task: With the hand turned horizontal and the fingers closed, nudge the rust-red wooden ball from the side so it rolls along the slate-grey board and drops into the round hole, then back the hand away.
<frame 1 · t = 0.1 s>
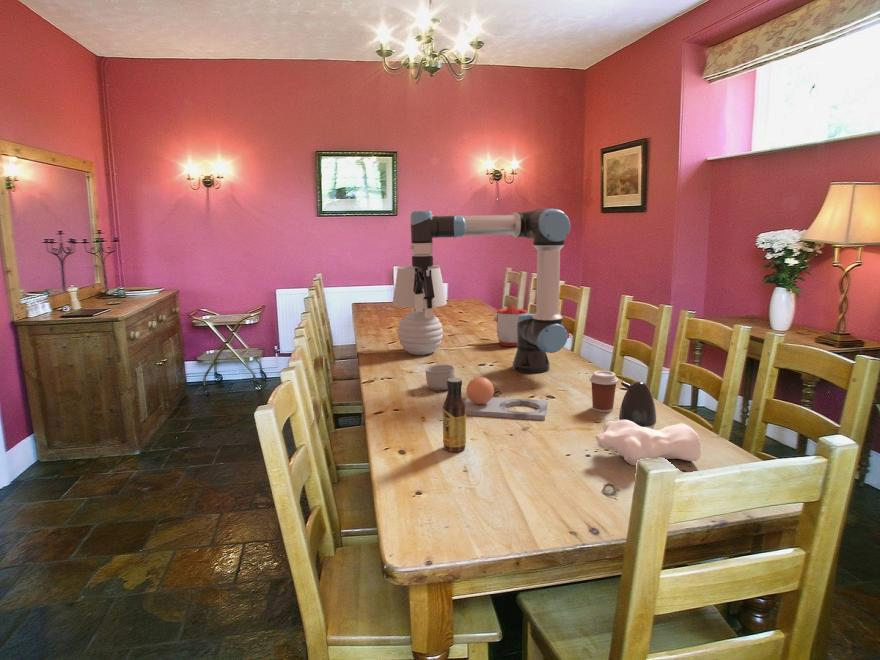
hand: (424, 314, 205), 28 cm above the table, tool pointing down, fingers open, 13 cm apart
torso sculpture: (643, 460, 147), on the table
board: (502, 409, 187), on the table
black egg shaped figurine: (636, 432, 166), on the table
citrus juicer: (510, 345, 282), on the table
sauce bottle: (454, 449, 156), on the table
ball: (480, 390, 188), point 6 cm above the table, touching board
coffee cup: (602, 409, 186), on the table
table lamp: (420, 352, 269), on the table
teacup: (440, 387, 213), on the table
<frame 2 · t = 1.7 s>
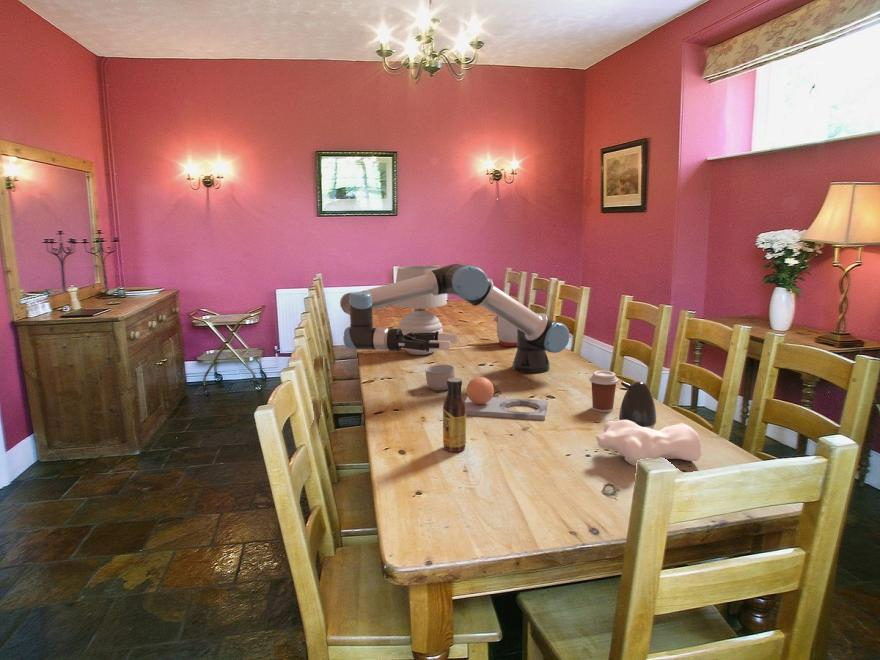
hand: (453, 341, 187), 22 cm above the table, tool horizontal, fingers open, 10 cm apart
nothing on the table moved.
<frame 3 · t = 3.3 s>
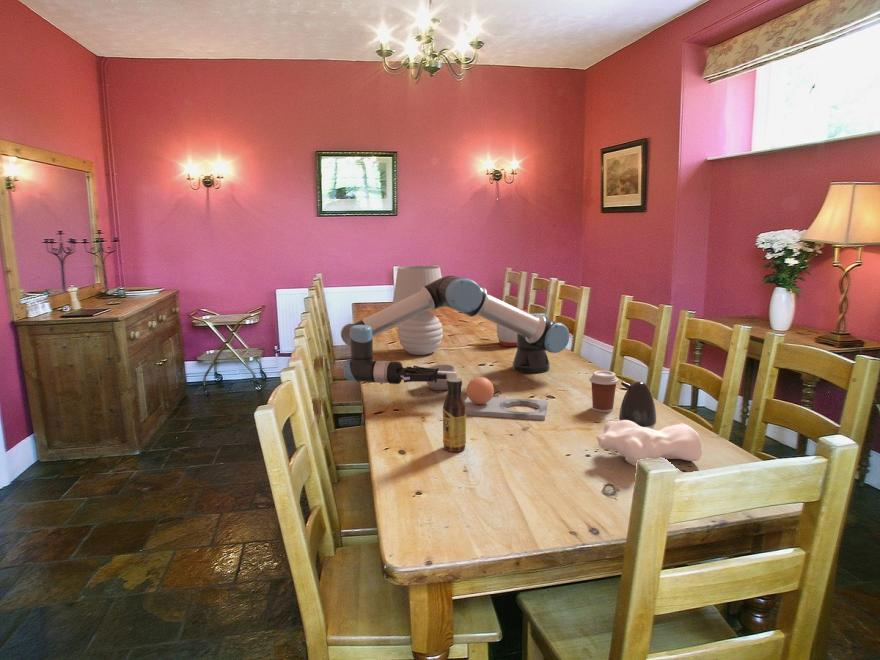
hand: (456, 376, 188), 10 cm above the table, tool horizontal, fingers closed
nothing on the table moved.
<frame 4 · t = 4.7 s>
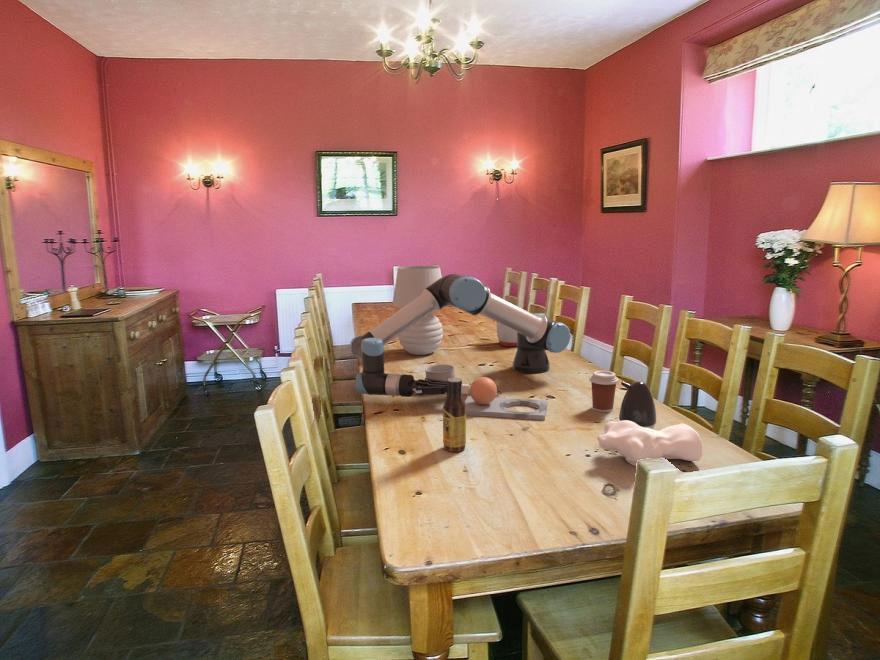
hand: (468, 389, 188), 6 cm above the table, tool horizontal, fingers closed
ball: (483, 390, 187), point 6 cm above the table, tilted 13°, touching board, gripper
everything else where it was.
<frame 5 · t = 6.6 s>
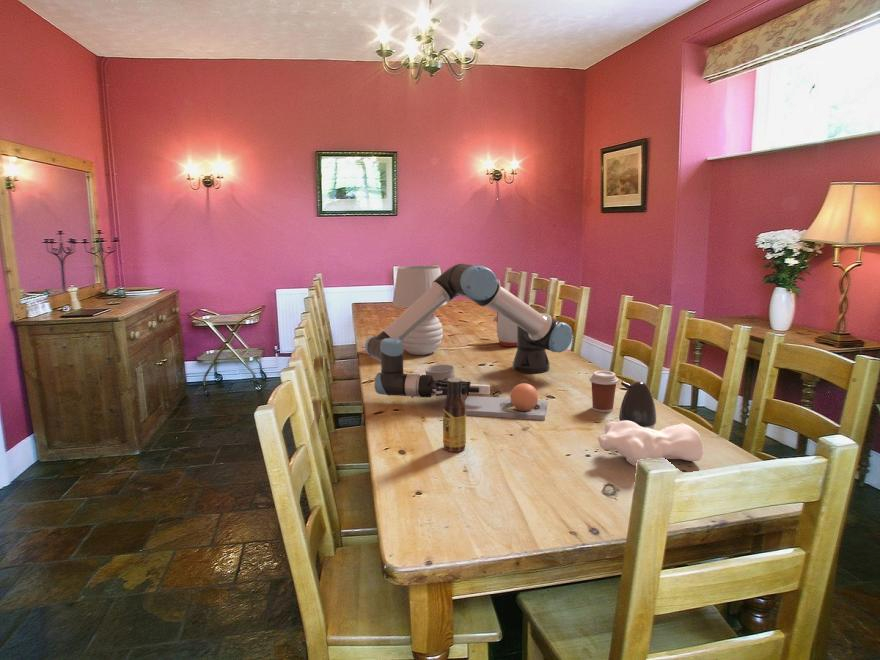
hand: (489, 389, 187), 6 cm above the table, tool horizontal, fingers closed
ball: (524, 397, 185), point 4 cm above the table, tilted 170°
everything else where it was.
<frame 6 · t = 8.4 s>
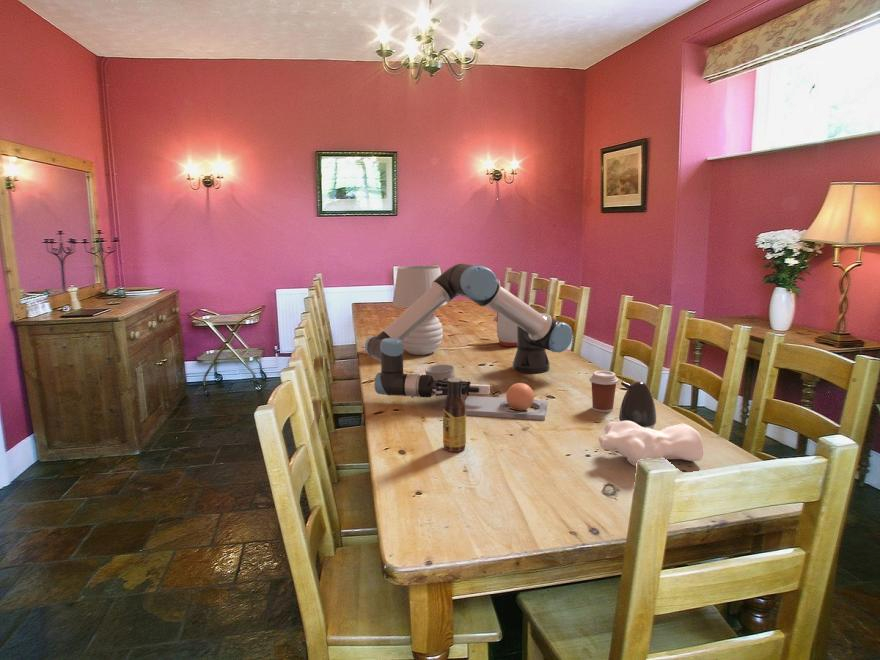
hand: (489, 389, 187), 7 cm above the table, tool horizontal, fingers closed
ball: (520, 396, 185), point 4 cm above the table, tilted 173°
everything else where it was.
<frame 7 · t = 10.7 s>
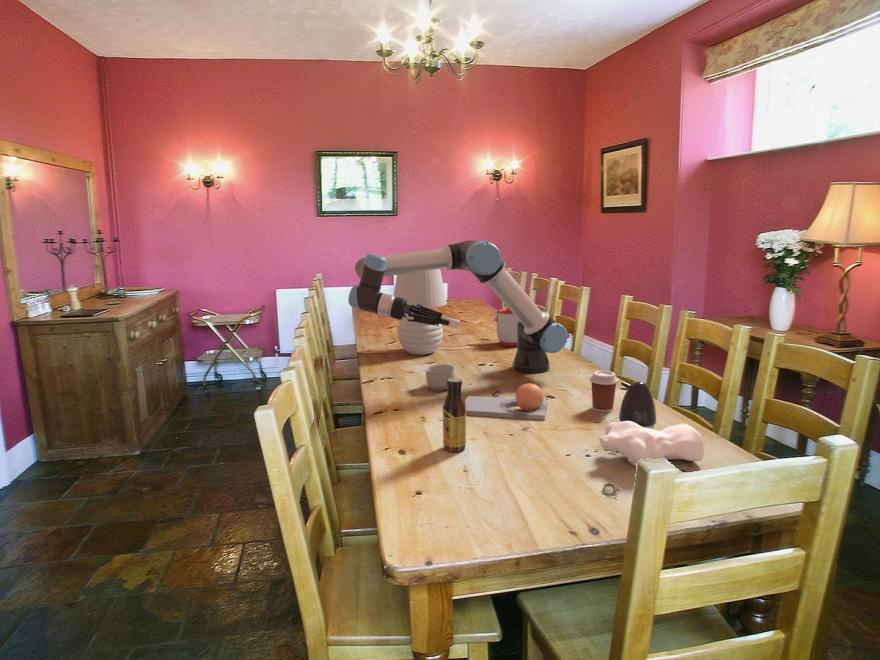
hand: (459, 324, 192), 27 cm above the table, tool horizontal, fingers closed
ball: (529, 397, 185), point 4 cm above the table, tilted 148°
everything else where it was.
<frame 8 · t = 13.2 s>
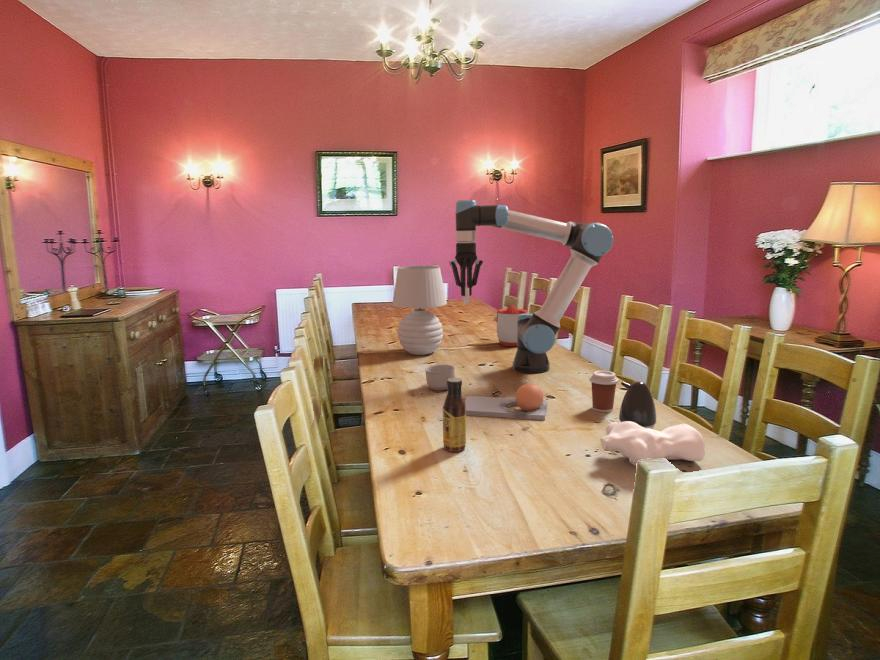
hand: (466, 304, 218), 29 cm above the table, tool pointing down, fingers closed
at the end: ball 2.0 cm from the target spot on the board, point 4.5 cm above the board's base; the gripper is holding nothing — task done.
